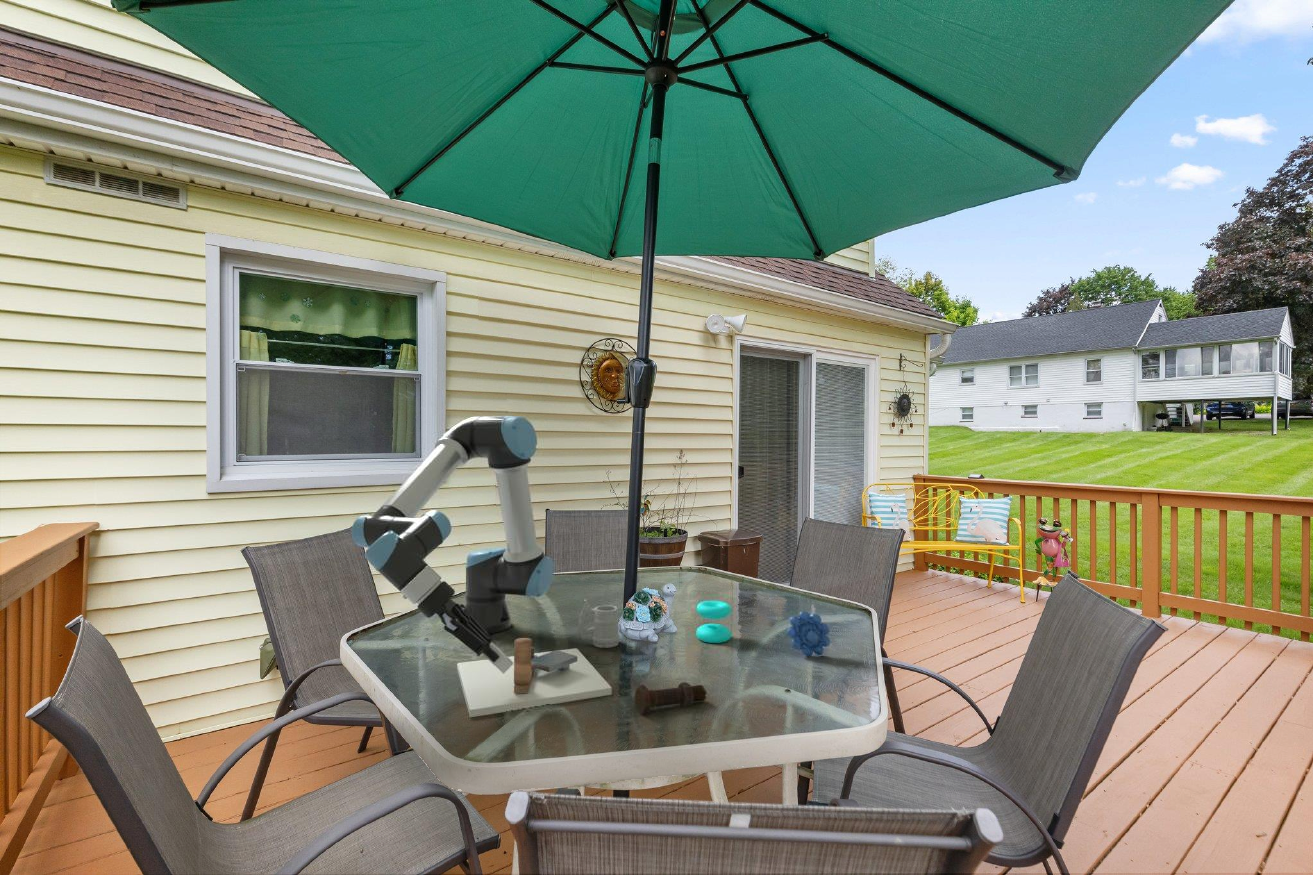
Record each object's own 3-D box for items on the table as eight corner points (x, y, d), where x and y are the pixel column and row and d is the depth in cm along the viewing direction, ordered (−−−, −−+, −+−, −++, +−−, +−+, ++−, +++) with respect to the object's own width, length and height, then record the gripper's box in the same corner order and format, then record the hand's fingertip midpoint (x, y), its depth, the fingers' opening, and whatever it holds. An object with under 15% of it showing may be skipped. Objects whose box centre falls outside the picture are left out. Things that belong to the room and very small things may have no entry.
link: (521, 661, 146) (522, 618, 146) (539, 660, 146) (540, 617, 147) (510, 693, 127) (511, 643, 127) (531, 692, 127) (532, 643, 128)
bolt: (704, 711, 128) (639, 720, 122) (696, 691, 132) (632, 699, 126) (712, 693, 125) (645, 701, 120) (703, 673, 129) (638, 680, 124)
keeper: (556, 670, 145) (556, 649, 145) (577, 677, 141) (577, 656, 141) (527, 681, 138) (528, 660, 138) (548, 689, 134) (549, 667, 134)
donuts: (694, 607, 167) (698, 598, 177) (694, 643, 167) (698, 632, 177) (730, 609, 165) (732, 600, 175) (730, 645, 165) (731, 634, 175)
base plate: (457, 669, 145) (457, 663, 145) (576, 653, 157) (576, 648, 157) (469, 717, 119) (469, 709, 119) (611, 694, 131) (611, 687, 131)
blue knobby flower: (792, 662, 152) (792, 615, 153) (784, 653, 159) (784, 608, 159) (836, 661, 154) (836, 615, 154) (826, 652, 160) (826, 608, 160)
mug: (617, 648, 161) (618, 604, 162) (574, 647, 162) (575, 603, 162) (621, 639, 169) (621, 597, 169) (580, 638, 170) (580, 596, 170)
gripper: (422, 597, 132) (498, 669, 135) (408, 613, 120) (492, 693, 122) (448, 573, 133) (522, 645, 136) (436, 586, 121) (519, 666, 123)
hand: (508, 667), depth 129 cm, fingers closed
